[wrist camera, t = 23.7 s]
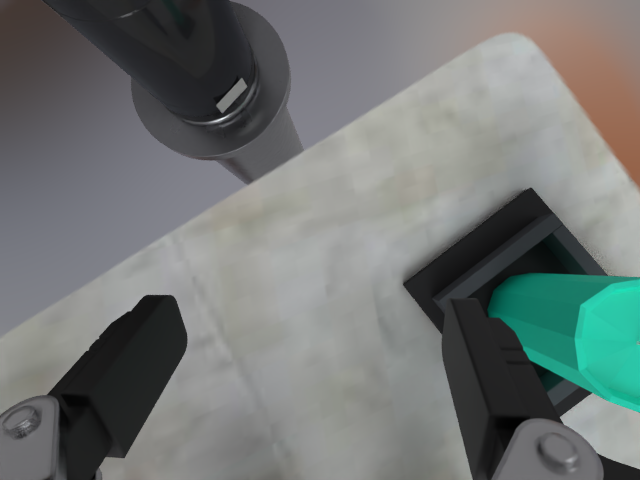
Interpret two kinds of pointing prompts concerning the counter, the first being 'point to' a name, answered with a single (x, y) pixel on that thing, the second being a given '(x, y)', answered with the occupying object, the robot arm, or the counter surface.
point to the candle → (578, 329)
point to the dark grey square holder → (506, 270)
